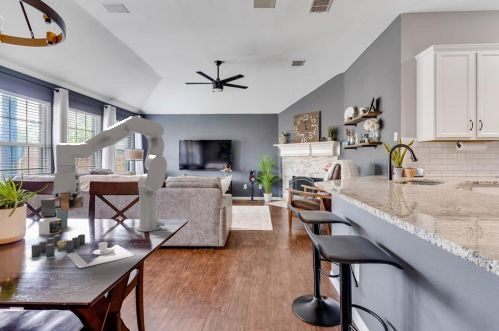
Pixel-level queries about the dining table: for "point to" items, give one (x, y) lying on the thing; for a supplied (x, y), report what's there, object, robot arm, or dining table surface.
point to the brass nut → (61, 245)
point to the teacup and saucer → (102, 255)
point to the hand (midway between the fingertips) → (67, 207)
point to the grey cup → (61, 216)
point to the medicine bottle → (50, 225)
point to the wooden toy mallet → (49, 204)
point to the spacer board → (50, 247)
